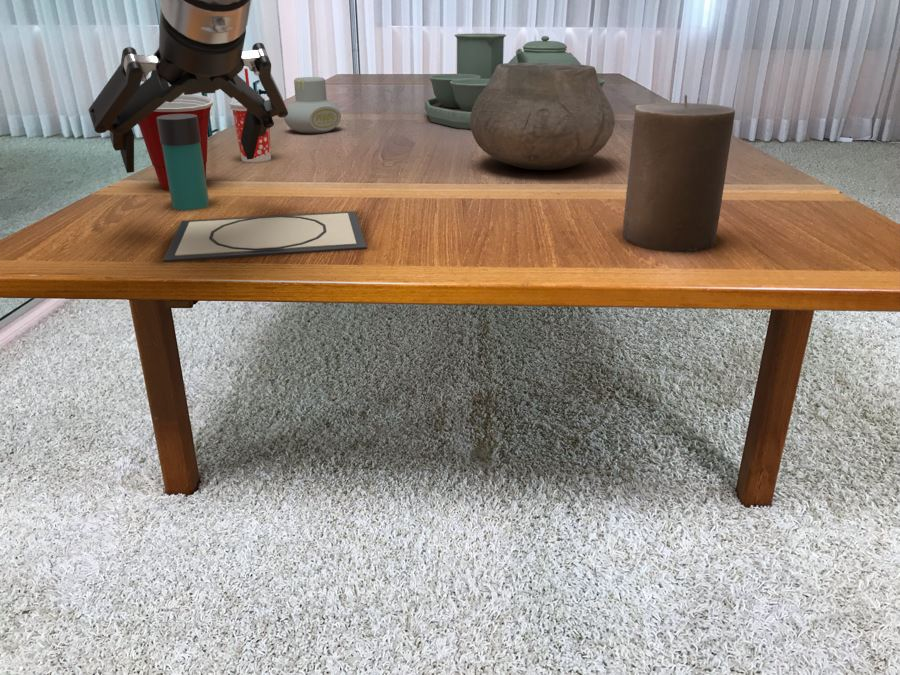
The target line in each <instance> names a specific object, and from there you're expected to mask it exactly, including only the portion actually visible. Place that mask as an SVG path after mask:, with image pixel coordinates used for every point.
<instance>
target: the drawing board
mask: <svg viewBox="0 0 900 675" xmlns="http://www.w3.org/2000/svg"><path fill="white" fill-rule="evenodd" d="M367 249H368V245H367V242H366V239H365V237H364V234H363V230H362V227H361V224H360V221H359V218H358V215H357V212H356V211H355V210H354V211H337V212H320V213H317V212H316V213H301V214H300V213H299V214H283V215H281V214H280V215H265V216H263V215H262V216H245V217H231V218H230V217H228V218H227V217H226V218H212V219H193V220H181V221H180V224H179V226H178V228H177V230H176V232H175V234H174V236H173V239H172V241H171V242H170V245H169V247H168V249H167V250H166V253H165V255H164V257H163V259H162V263H175V262H189V261H190V262H192V261H206V260H222V259H223V260H224V259H236V258H253V257H266V256H279V255H280V256H281V255H282V256H284V255H297V254H312V253H313V254H314V253H326V252H327V253H328V252H343V251H356V250H357V251H359V250H367Z"/></svg>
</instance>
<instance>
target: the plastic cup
mask: <svg viewBox="0 0 900 675" xmlns="http://www.w3.org/2000/svg"><path fill="white" fill-rule="evenodd" d="M213 105H214V99H213V98H212V97H210V96H207V95H202V94H197V93H196V94H191V95H184V93H183V94H181V95H180V96H179V97H178V98H176V99H175V100H174V101H173V102H167V101H166V102H165V103H163V104H162V105H161V106H160V107H158V108H157V109H156V110H155V111H153V112H152V113H151V114H149V115H148V116H147V117H146V118H144V119H143V120H142V121H141V122H139V123H138V124H137V125H138V127H139V130H140V133H141V136H142V139H143V142H144V144H145V147H146V150H147V153H148V156H149V158H150V161H151V164H152V167H153V168H154V171H155V174H156V177H157V180H158V183H159V185H160V187H161V189H162V190H165V191H169V192H170V190H169V184H168V178H167V172H166V166H165V160H164V154H163V149H162V144H161V142H160V136H159V130H158V125H157V119H156V118H157V117H158V116H163V115H170V114H194V115H197V118H198V125H199V131H200V138H201V142H200V144H201V151H202V158H203V164H204V171H205V178H206V179H207V163H208V142H209V141H208V138H209V136H208V135H209V123H210V116H211V115H210V114H211V108H212V107H213Z"/></svg>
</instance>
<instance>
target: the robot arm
mask: <svg viewBox="0 0 900 675" xmlns="http://www.w3.org/2000/svg"><path fill="white" fill-rule="evenodd" d="M159 1H160V2H159V3H160V10H159V11H160V13H159V33H158V47H157V50H156V51H155V52H154V54H153V55H150V54H138V53H137V50H136V49H135V47H131V46H128V47H124V48H123V50H122V52H121V57H120V58H121V59H120V64H119V66H118V67H117V69H116V70H115V71H114V73H113V74H112V75H111V77H110V78H109V80H108V81H107V82H106V84H105V85H104V87H103V88H102V89H101V91H100V92H99V94H98V95H97V97H96V98H95V99H94V101H93V102H92V103H91V105H90V107H89V108H88V113H89V117H90V120H91V123H92V126H93V129H94V132H95V133H97V134H104V133H106V132H108V131H109V139H110V142H111V145H112V147H113V149H114V151H115V152H117V151H119V152H120V155H121V159H122V162H123V166H124V168H125V171H126V173H127V174H130V173H135V133H134V132H133V128H134V127H136V126H137V125H138V123H139V122H141V121H142V120H143V119H144V118H146V117H147V116H148V115H149V114H151V113H152V112H153V111H155V110H156V109H157V108H158V107H160V106H161V105H162V104H163V103H165V102H166V101H167V102H173V101H174V100H175V99H176V98H178V97H179V96H180V95H181V94H183V93H184V95H191V94H196V95H197V94H200V93H201V94H216V91H219V90H221V92H223V93H224V94H226V95H227V96H228V97H229V98H230V99H234V100H236V101H238V102H239V103H241V104H242V105H243V106H244V107H245V108H247V111H246V116H245V121H244V126H243V131H242V136H241V144H242V146H243V149H244V152H245V155H246V157H247V160H248V159H254V154H255V150H256V146H257V142H258V138H259V137H260V136H264V135H265V134H266V131H267V128H272V127H274V125H275V122H274V119H273V118H274V117H278V118H283V119H284V117H286V116H287V115H288V111H287V105H286V104H285V100H284V98H283V96H282V94H281V91H280V90H279V87H278V85H277V83H276V80H275V79H274V77H273V75H272V63H271V60H270V57H269V54H268V52H267V49H266V47H265V45H264V43H262V42H256V43H254V44H253V45H252V49H251V50H245V51H244V46H245V40H246V34H247V26H248V22H249V16H250V11H251V5H252V0H159ZM244 67H247V68H249V71H250V72H253V74H254V76H258V79H259V81H260V84H261V86H262V88H263V89H264V92H265V93H266V95H267V98H268V99H267V100H266V99H265V98H264V97H263V96H262V95H260V94H259V93H258V92H257V91H256V90H255V89H254V88H253V87H252V86H250V84H249V85H248V84H247V83H246V80H244V79H243V78H242V77H240V75H239V74H240V73H241V72H242V71H243V69H244ZM149 73H150V77H149V78H147V76H148V75H149Z"/></svg>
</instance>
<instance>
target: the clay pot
mask: <svg viewBox="0 0 900 675" xmlns="http://www.w3.org/2000/svg"><path fill="white" fill-rule="evenodd" d="M598 79H599V77H598V73H597V70H596V67H595V66H593V65H588V64H581V65H580V64H560V63H509V62H505V63H504V62H503V64H499V65H498V66H497V67H496V69H495V71H494V73H493V75H492V76H491V78H490V80H489V82H488V84H487V85H486V87H485V88H484V89H483V91H482V92H481V94H480V95H479V96H478V98H477V100H476V102H475V103H474V106H473V109H472V112H471V115H470V122H469V123H470V128H471V129H470V132H471V133H472V137H473V138H474V140H475V143H476V144H477V146H478V147H479V148H480V149H481V150H482V151H483V152H485V153H486V155H488V156H489V157H491V158H493V159H494V160H496V161H498V162H500V163H504V164H506V165H508V166H512V167H515V168H519V169H523V170H529V171H530V170H531V171H545V172H546V171H556V170H557V171H558V170H564V169H567V168H568V169H569V168H571V167H575V166H576V165H579V164H582V163H584V162H585V161H588V160H589V159H591V158H593V157H594V156H595V155H596V154H598V153H599V152H600V151H602V149H603V148H604V147H605V146H606V145H607V143H608V142H609V140H610V138H611V137H612V135H613V133H614V129H615V124H616V118H615V113H614V111H613V107H612V105H611V102H610V101H609V99H608V97H607V96H606V94H605V92H604V90H603V88H602V89H601V86H600V83H599V81H598Z"/></svg>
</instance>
